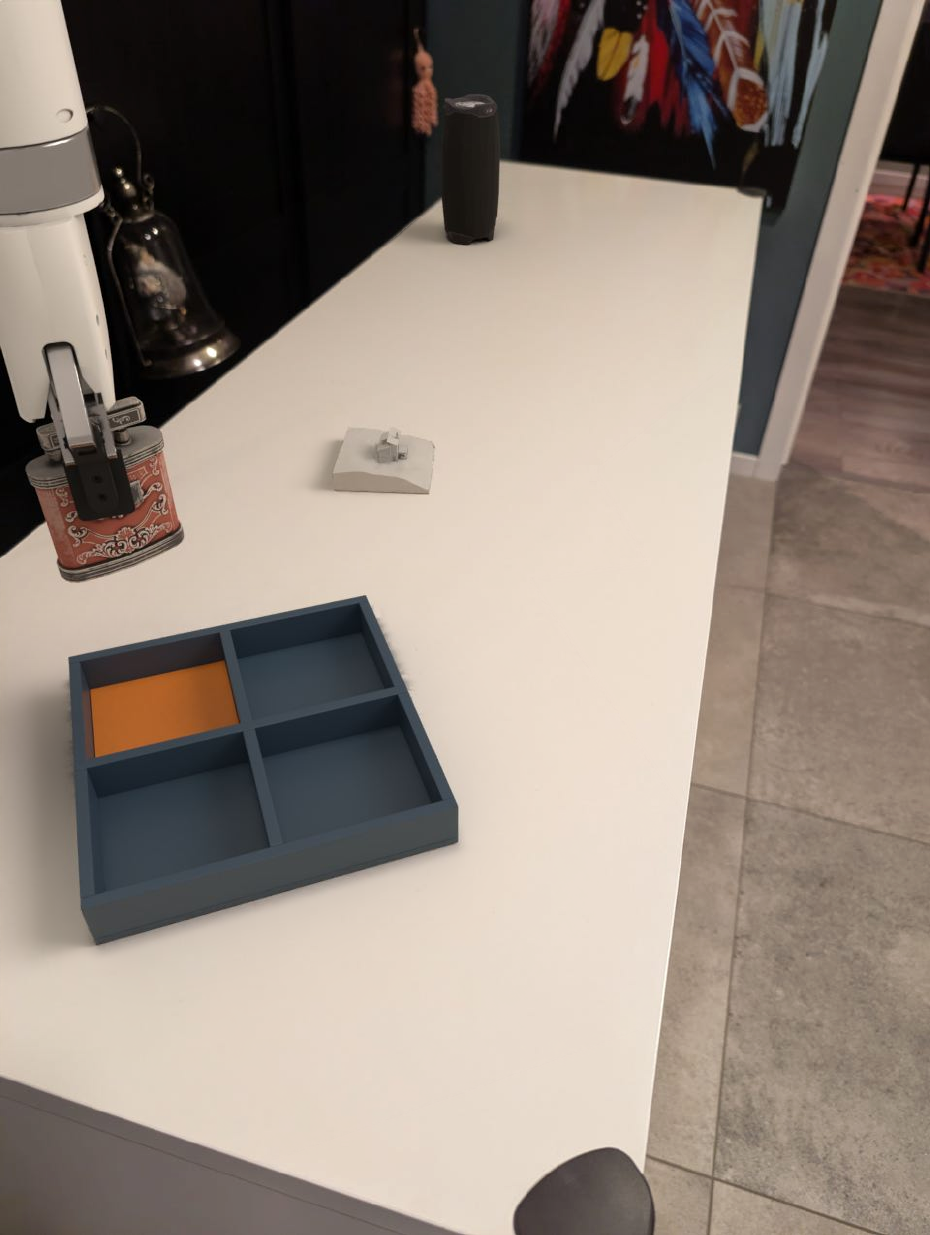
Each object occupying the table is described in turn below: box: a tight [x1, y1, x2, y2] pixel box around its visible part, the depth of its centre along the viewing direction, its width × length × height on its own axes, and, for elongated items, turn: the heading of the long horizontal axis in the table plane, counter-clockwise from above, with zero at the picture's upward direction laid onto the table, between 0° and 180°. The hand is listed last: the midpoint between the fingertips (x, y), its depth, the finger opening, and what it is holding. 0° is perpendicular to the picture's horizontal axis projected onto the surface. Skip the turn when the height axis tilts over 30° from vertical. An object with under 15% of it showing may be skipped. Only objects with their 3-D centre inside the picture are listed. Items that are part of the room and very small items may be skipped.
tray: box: [67, 594, 459, 946], centre depth 66 cm, size 22×22×4 cm
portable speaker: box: [440, 93, 501, 246], centre depth 145 cm, size 9×9×20 cm
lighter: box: [25, 396, 185, 584], centre depth 58 cm, size 8×3×10 cm, turn 129°
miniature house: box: [331, 426, 436, 494], centre depth 96 cm, size 12×11×4 cm
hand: (104, 490), depth 58 cm, fingers closed on lighter, 4 cm apart
